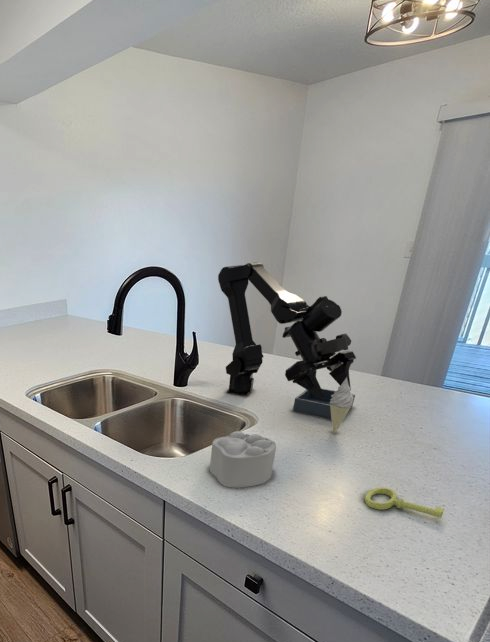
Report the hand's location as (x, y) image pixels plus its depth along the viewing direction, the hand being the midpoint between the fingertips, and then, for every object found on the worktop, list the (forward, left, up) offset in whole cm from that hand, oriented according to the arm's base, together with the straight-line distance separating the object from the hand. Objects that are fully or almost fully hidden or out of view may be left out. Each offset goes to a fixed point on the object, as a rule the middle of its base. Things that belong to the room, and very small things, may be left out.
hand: (335, 394), depth 109 cm
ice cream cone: (+1, -1, -10) cm, 10 cm away
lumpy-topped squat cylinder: (-13, -32, -10) cm, 36 cm away
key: (+16, -30, -10) cm, 36 cm away
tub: (-4, +14, -10) cm, 18 cm away
